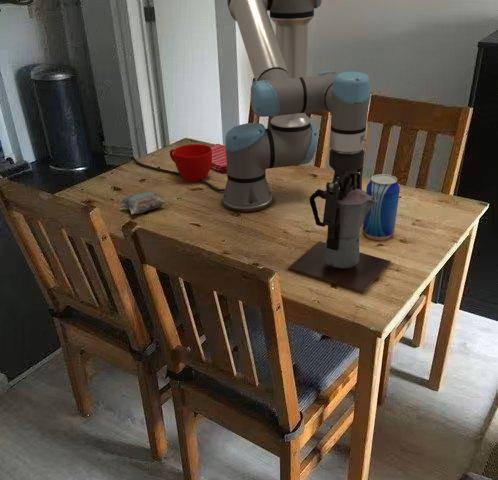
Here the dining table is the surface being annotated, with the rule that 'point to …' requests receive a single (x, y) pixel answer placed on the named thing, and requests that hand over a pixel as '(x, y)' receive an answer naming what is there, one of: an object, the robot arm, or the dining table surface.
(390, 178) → the beer can
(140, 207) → the packaged food
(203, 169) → the ceramic cup
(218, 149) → the dish towel
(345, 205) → the moka pot
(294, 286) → the dining table surface
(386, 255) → the dining table surface
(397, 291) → the dining table surface
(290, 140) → the robot arm
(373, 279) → the walnut trivet
